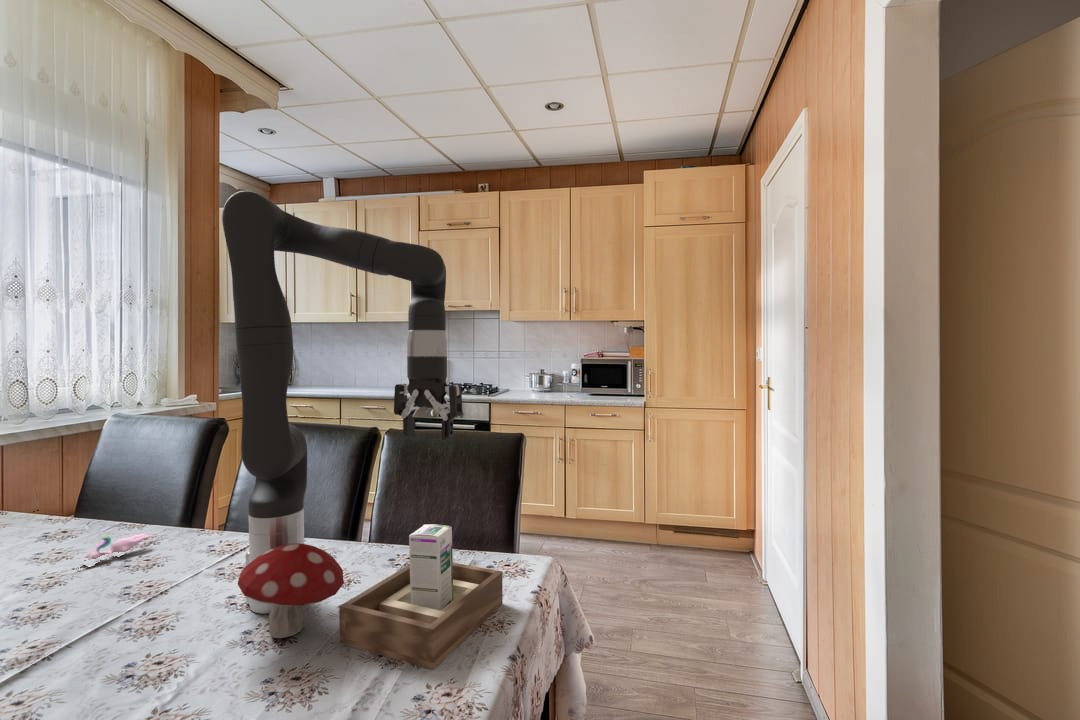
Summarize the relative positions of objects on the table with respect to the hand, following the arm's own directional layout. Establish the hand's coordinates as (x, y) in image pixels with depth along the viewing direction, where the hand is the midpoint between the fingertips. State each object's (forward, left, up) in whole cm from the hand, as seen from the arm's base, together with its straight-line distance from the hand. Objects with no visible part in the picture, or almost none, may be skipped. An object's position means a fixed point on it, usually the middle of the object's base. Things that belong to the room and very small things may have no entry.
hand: (427, 438), depth 101 cm
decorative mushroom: (-12, -21, -30) cm, 39 cm away
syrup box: (+6, -7, -29) cm, 31 cm away
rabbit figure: (-77, -13, -30) cm, 83 cm away
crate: (+6, -9, -30) cm, 32 cm away
